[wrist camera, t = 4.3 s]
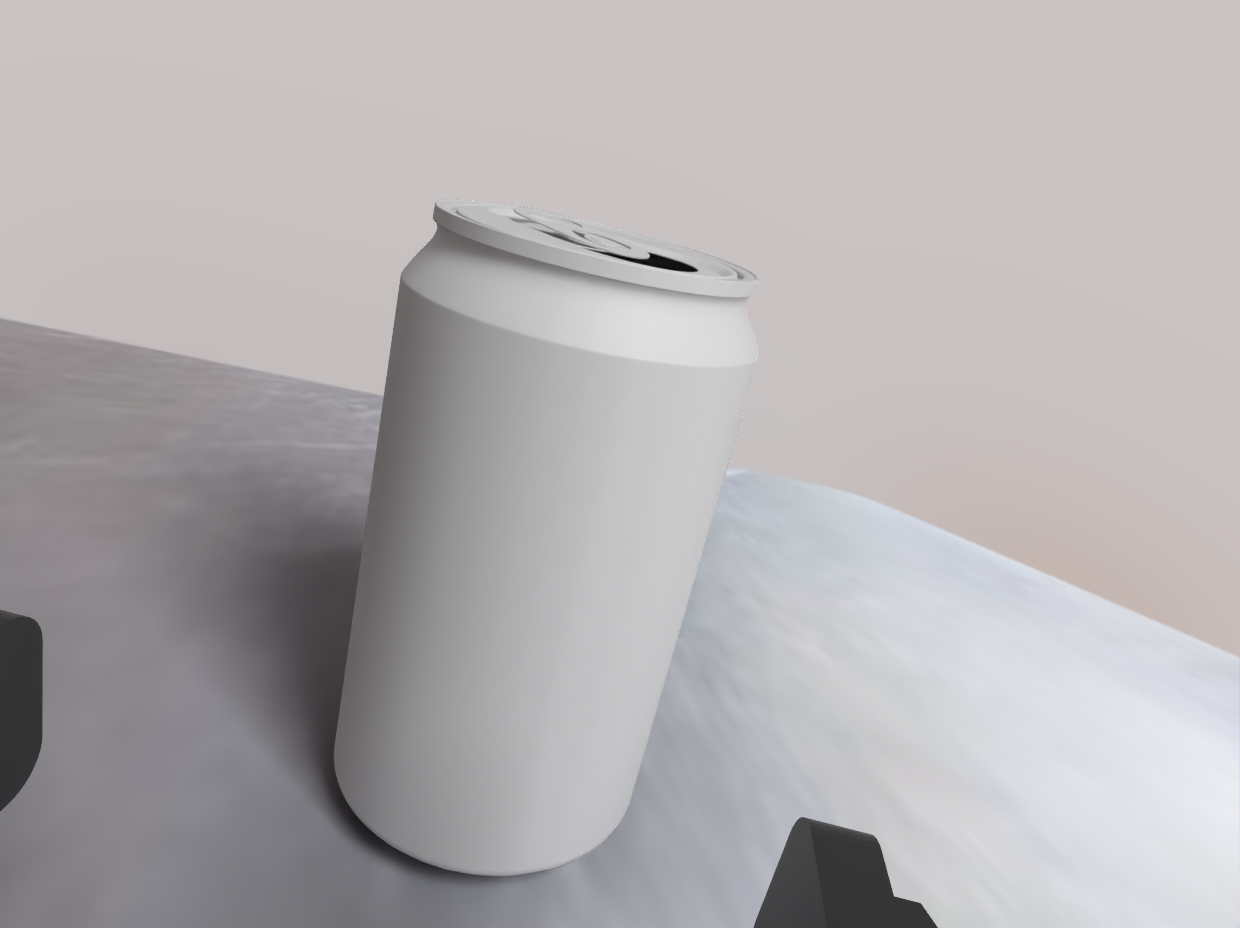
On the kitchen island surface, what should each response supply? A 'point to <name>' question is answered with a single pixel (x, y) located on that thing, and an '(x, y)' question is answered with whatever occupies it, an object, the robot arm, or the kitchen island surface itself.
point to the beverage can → (533, 529)
